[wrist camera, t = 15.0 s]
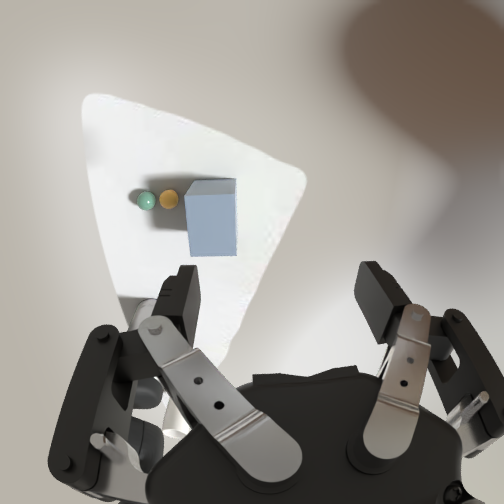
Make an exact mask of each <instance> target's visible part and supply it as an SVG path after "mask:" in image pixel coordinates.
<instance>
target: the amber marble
mask: <svg viewBox="0 0 504 504" xmlns="http://www.w3.org/2000/svg"><path fill="white" fill-rule="evenodd" d="M178 200H179V198H178V195H177V193H176V192H175V191H173V190H165V191H164V192H162V194H161V195H160V198H159V201H160V204H161V206H162V207H163V208H165V209H172V208H174V207H175V206H176V205H177V204H178Z"/></svg>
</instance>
